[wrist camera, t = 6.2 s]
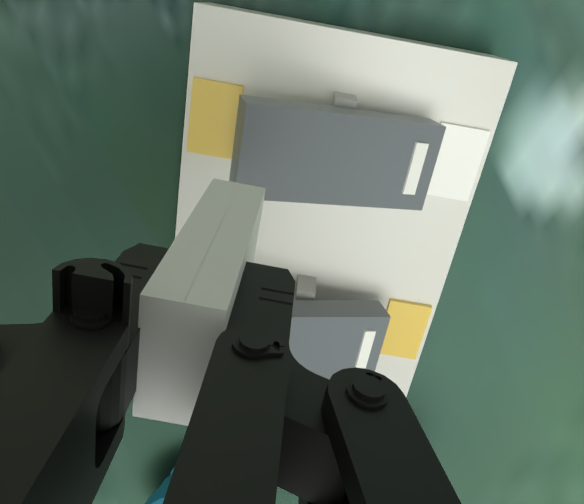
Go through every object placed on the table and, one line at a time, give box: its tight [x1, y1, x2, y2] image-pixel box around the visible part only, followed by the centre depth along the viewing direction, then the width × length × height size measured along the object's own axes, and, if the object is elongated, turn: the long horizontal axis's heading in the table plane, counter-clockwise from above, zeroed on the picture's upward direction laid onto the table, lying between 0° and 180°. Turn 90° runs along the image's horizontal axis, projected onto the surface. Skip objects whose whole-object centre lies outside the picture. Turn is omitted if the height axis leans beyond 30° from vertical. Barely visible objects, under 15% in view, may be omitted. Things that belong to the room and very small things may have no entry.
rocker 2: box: [289, 300, 391, 379], centre depth 28 cm, size 9×4×2 cm, turn 80°
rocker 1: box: [229, 94, 446, 211], centre depth 24 cm, size 9×4×2 cm, turn 80°
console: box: [175, 2, 518, 397], centre depth 29 cm, size 15×20×6 cm
